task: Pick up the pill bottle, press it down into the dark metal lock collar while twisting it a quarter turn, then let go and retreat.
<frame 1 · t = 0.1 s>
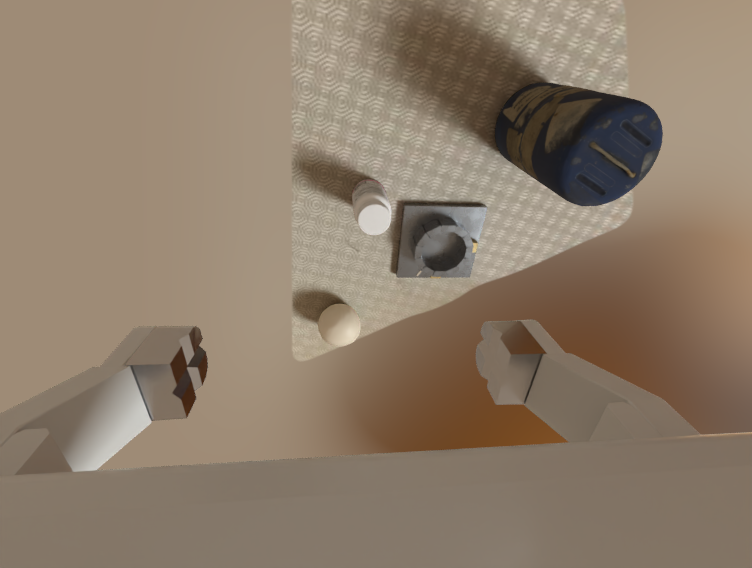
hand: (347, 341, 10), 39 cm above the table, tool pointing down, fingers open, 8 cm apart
canister: (526, 123, 44), on the table
lock socket: (438, 241, 53), on the table
beige sphere: (340, 312, 59), on the table
pill bottle: (368, 194, 48), on the table
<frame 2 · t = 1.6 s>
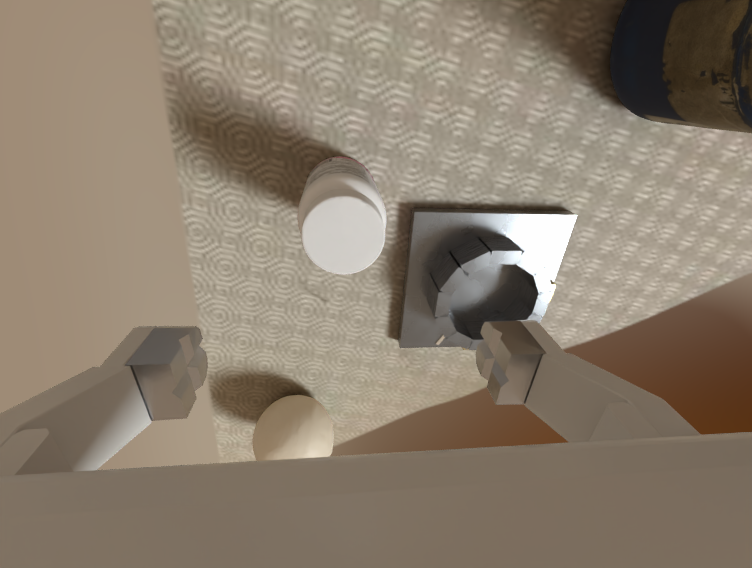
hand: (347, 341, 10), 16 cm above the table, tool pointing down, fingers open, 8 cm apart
canister: (672, 34, 21), on the table
lock socket: (476, 281, 28), on the table
beige sphere: (299, 405, 34), on the table
pill bottle: (341, 190, 24), on the table
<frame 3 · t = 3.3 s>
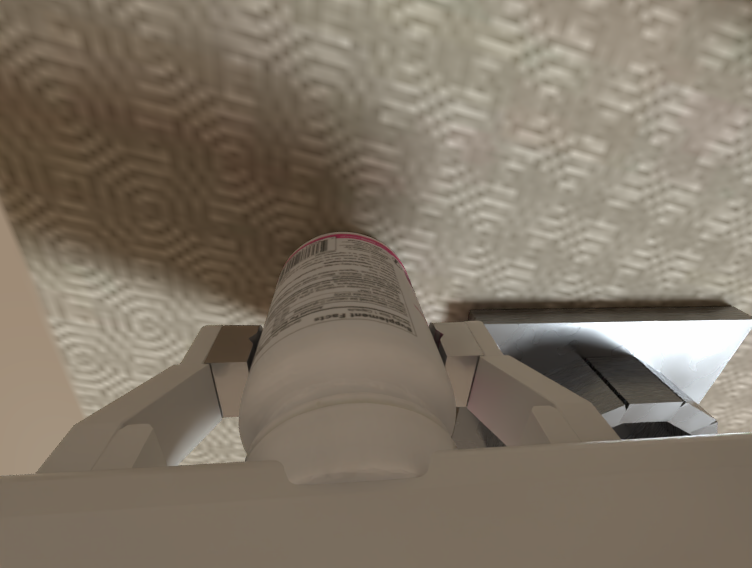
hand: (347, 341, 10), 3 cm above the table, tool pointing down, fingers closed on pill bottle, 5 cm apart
lock socket: (563, 408, 17), on the table
pill bottle: (345, 286, 13), on the table, touching gripper
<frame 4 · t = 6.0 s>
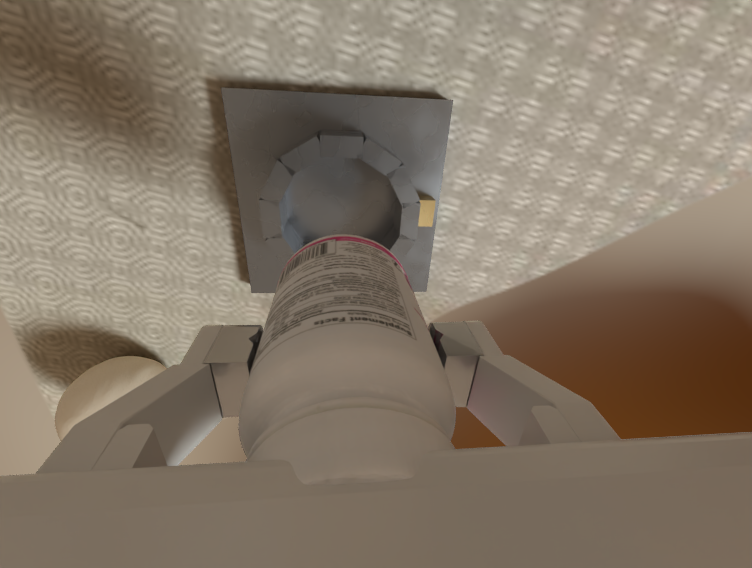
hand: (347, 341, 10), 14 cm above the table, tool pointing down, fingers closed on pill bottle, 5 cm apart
lock socket: (341, 202, 22), on the table
beige sphere: (150, 372, 27), on the table
pill bottle: (345, 288, 13), point 10 cm above the table, touching gripper
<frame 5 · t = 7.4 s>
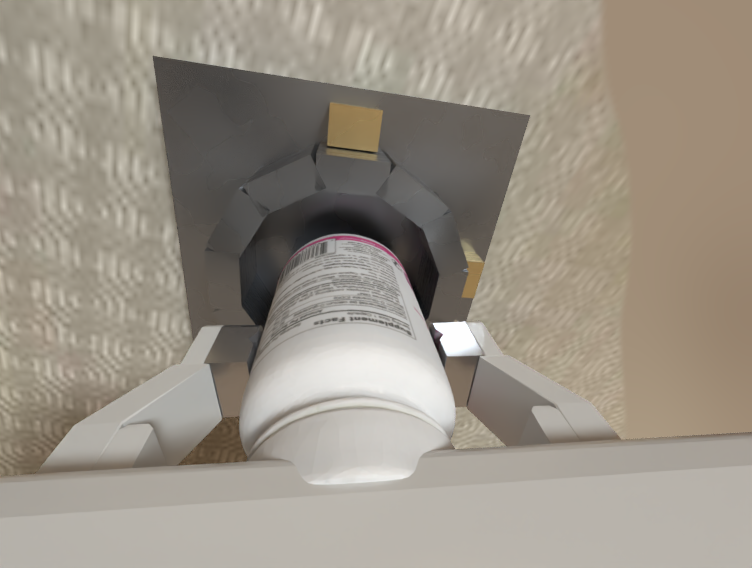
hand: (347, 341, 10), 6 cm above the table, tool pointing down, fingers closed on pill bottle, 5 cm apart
lock socket: (340, 249, 15), on the table
pill bottle: (345, 287, 13), point 2 cm above the table, touching gripper
when the fingers open (6 cm above the table, at t = 8.7 s): pill bottle drops 1 cm, resting on lock socket.
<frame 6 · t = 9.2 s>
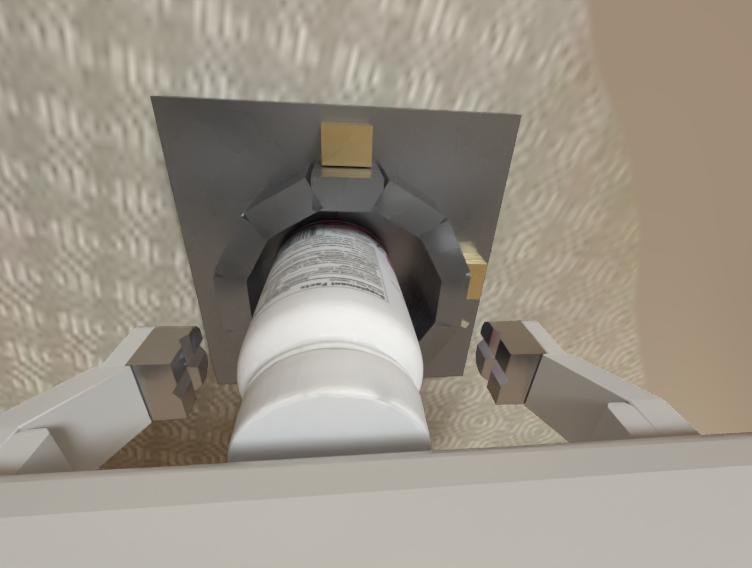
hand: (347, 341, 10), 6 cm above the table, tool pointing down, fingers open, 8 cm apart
lock socket: (345, 260, 15), on the table
pill bottle: (334, 270, 14), point 1 cm above the table, touching lock socket
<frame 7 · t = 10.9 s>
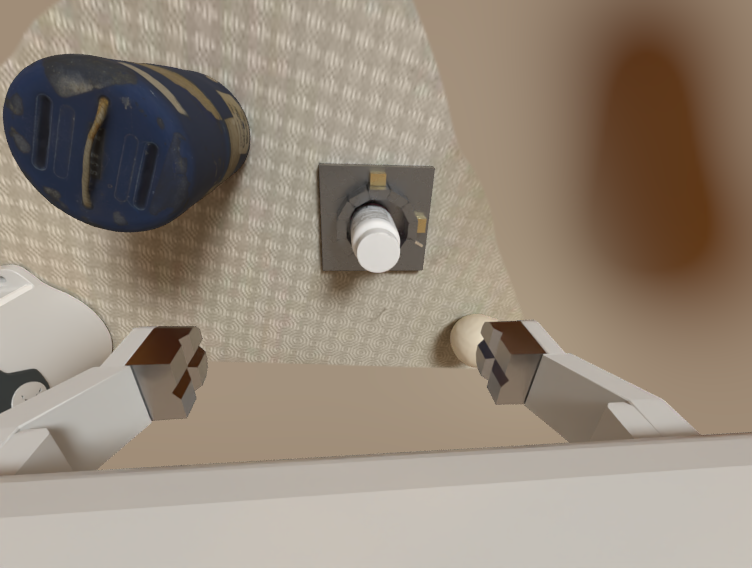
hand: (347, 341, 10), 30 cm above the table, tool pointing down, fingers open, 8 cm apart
canister: (204, 127, 33), on the table
lock socket: (374, 219, 39), on the table
beige sphere: (470, 323, 48), on the table
pill bottle: (371, 222, 38), point 1 cm above the table, touching lock socket
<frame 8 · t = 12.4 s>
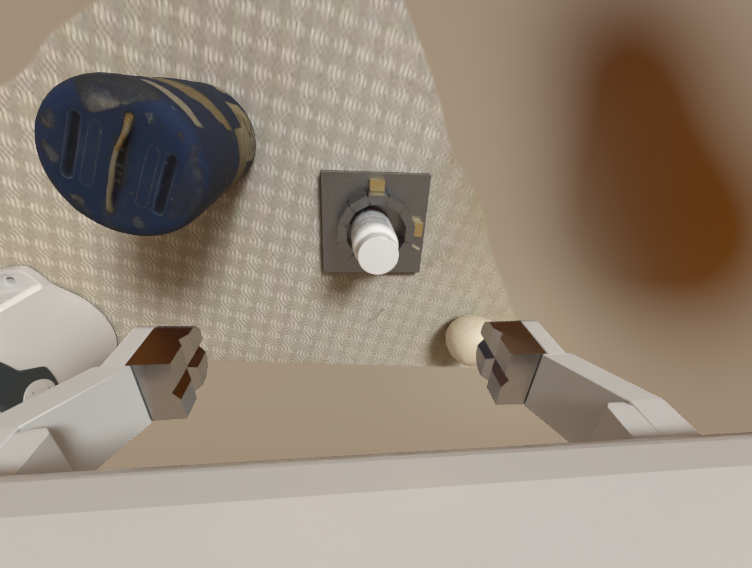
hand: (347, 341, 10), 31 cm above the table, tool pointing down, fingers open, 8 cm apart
canister: (211, 135, 35), on the table
lock socket: (373, 223, 41), on the table
beige sphere: (464, 323, 50), on the table
pill bottle: (370, 226, 40), point 1 cm above the table, touching lock socket
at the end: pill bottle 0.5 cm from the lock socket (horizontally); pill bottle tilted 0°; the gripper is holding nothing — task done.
